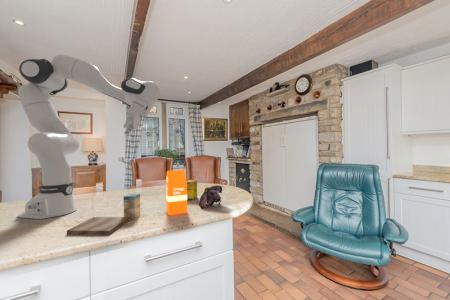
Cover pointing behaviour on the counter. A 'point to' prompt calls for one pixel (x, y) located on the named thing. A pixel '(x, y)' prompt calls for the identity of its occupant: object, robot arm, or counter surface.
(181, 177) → the orange juice
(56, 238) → the counter surface
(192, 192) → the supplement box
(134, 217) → the beech block
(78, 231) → the chopping board
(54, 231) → the counter surface
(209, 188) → the decorative flower
